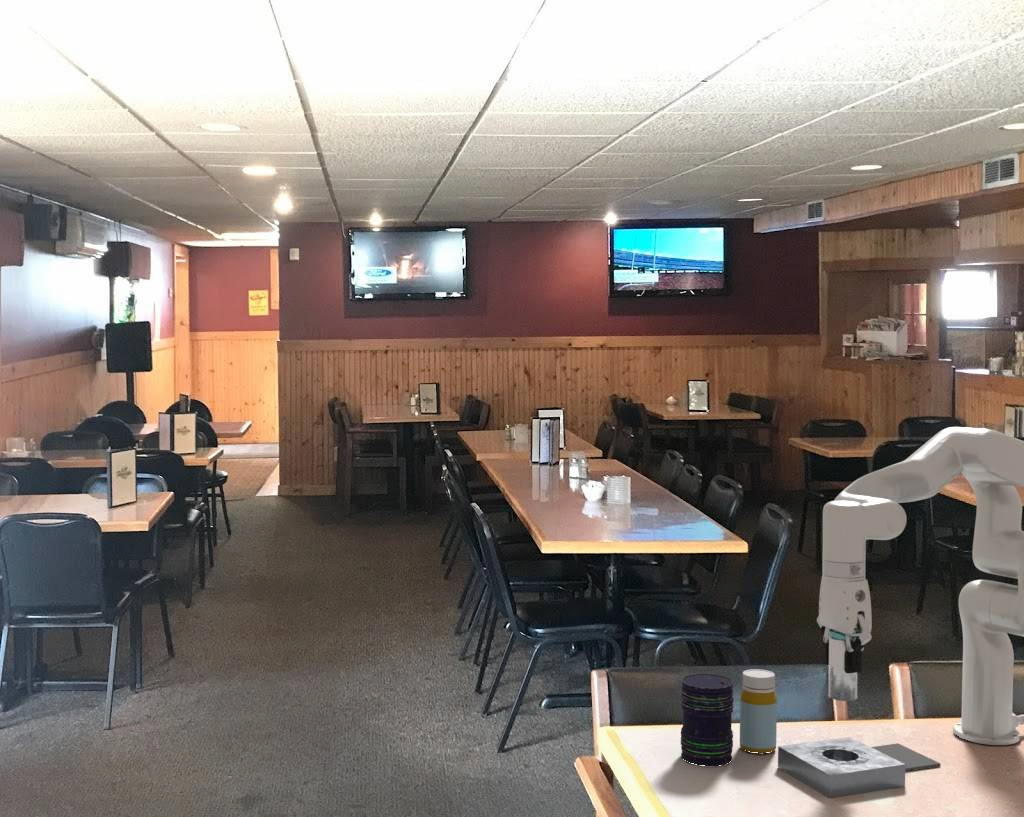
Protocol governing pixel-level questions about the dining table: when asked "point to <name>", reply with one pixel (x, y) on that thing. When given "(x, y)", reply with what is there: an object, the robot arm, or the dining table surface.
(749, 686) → the bottle
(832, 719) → the dining table surface
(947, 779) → the dining table surface
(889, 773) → the housing
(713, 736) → the storage jar
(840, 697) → the plug
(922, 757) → the mat
